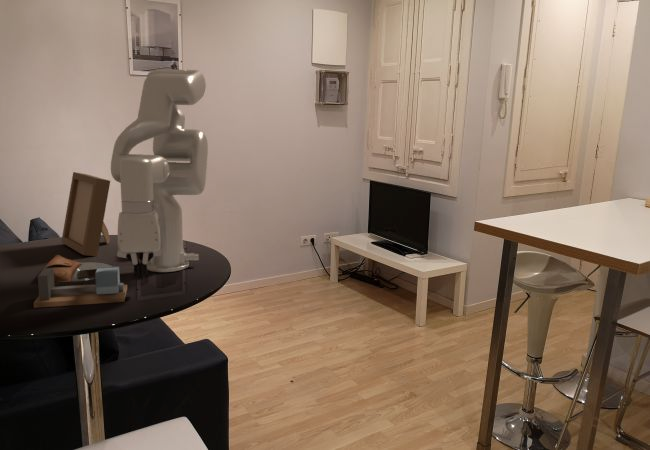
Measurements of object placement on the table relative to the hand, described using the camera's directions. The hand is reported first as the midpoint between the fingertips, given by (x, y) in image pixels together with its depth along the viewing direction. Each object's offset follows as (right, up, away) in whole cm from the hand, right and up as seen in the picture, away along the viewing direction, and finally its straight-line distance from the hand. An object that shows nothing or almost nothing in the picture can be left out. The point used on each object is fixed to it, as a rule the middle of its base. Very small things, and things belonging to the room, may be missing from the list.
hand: (141, 278), depth 135 cm
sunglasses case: (-29, -1, +18) cm, 34 cm away
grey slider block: (-8, -3, -1) cm, 8 cm away
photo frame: (-32, +6, +45) cm, 56 cm away
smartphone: (-16, -1, +18) cm, 24 cm away
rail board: (-14, -5, -3) cm, 15 cm away
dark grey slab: (-21, -4, -5) cm, 22 cm away
